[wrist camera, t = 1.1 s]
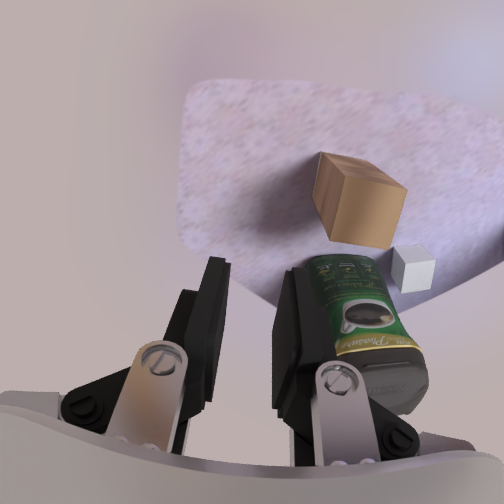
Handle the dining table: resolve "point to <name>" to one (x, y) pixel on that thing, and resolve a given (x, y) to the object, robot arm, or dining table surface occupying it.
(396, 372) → the coffee jar
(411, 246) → the grey cube
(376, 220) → the tan block
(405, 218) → the dining table surface
